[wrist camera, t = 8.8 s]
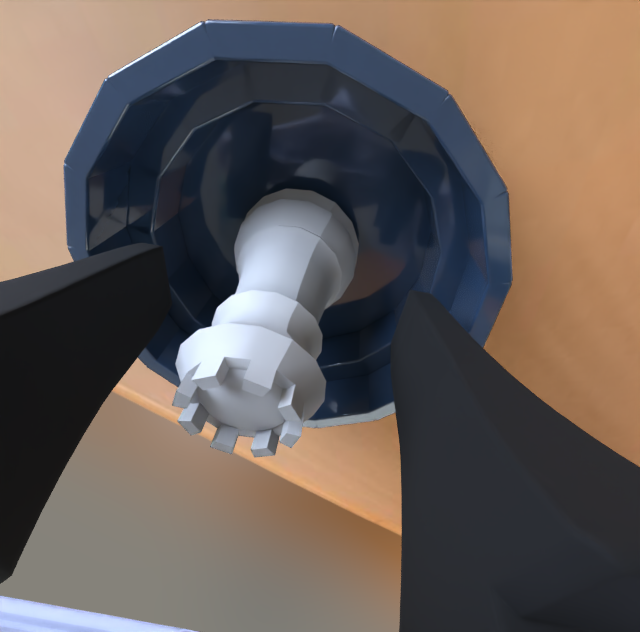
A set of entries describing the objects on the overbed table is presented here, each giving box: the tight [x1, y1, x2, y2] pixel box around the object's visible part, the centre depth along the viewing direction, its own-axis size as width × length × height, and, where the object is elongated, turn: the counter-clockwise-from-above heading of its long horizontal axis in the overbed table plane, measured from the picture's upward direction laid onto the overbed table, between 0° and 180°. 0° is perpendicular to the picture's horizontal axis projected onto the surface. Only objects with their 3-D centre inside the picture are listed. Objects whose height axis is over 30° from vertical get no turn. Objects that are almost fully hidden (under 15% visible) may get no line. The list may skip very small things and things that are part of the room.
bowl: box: [64, 19, 513, 428], centre depth 11 cm, size 12×12×4 cm
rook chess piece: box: [172, 189, 359, 457], centre depth 10 cm, size 4×4×8 cm
